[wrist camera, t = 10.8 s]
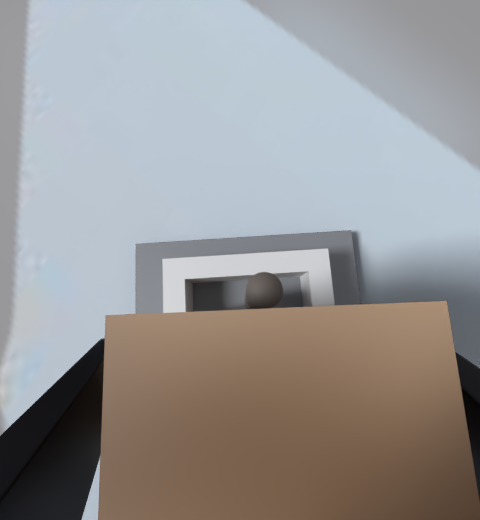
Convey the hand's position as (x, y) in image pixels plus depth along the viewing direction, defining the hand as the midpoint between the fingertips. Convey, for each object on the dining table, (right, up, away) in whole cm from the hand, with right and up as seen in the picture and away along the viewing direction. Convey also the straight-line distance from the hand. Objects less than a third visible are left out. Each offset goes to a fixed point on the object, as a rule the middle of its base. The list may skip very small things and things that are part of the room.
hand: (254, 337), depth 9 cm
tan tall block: (0, -3, +8) cm, 9 cm away
